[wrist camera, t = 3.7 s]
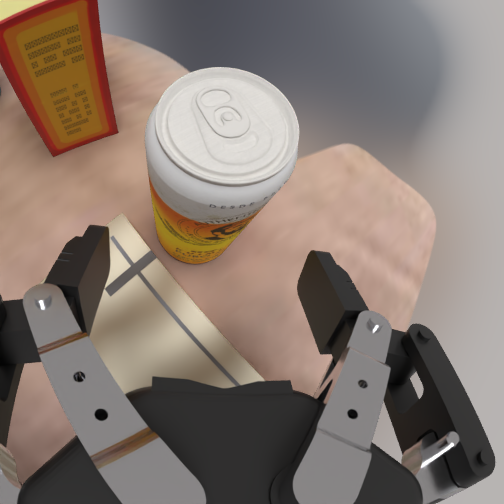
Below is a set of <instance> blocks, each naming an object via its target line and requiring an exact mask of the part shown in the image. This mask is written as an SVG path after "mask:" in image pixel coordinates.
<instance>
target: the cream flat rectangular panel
mask: <svg viewBox="0 0 504 504" xmlns="http://www.w3.org/2000/svg"><path fill="white" fill-rule="evenodd" d="M106 226H107V227H108V228H109V238H110V272H109V276H108V279H107V282H106V285H105V288H104V291H103V294H102V297H101V300H100V303H99V306H98V309H97V313H96V316H95V319H94V322H93V326H92V329H91V333H90V336H89V338H90V340H91V341H92V343H93V345H94V347H95V348H96V350H97V352H98V353H99V355H100V357H101V358H102V360H103V362H104V363H105V365H106V367H107V368H108V370H109V371H110V373H111V375H112V376H113V378H114V379H115V381H116V382H117V384H118V385H119V387H120V388H121V390H122V391H123V393H124V394H126V393H128V392H130V391H133V390H135V389H139V388H143V387H148V386H152V376H156V377H167V378H180V379H189V380H193V381H196V382H200V383H204V384H208V385H212V386H216V387H220V388H230V387H235V386H239V385H244V384H248V383H253V382H257V381H265V380H264V379H263V378H262V377H261V376H260V375H259V374H258V373H257V372H256V371H255V370H254V369H253V367H252V366H251V365H250V364H249V363H248V362H247V361H246V360H245V359H244V358H243V357H242V356H241V355H240V354H239V353H238V352H237V350H236V349H235V348H234V347H233V346H232V345H231V344H230V343H229V342H228V341H227V340H226V338H225V337H224V336H223V335H222V334H221V333H220V332H219V331H218V330H217V328H216V327H215V326H214V325H213V324H212V323H211V322H210V321H209V319H208V318H207V317H206V316H205V315H204V314H203V313H202V311H201V310H200V309H199V308H198V307H197V306H196V304H195V303H194V302H193V301H192V300H191V299H190V297H189V296H188V295H187V294H186V293H185V292H184V290H183V289H182V288H181V287H180V286H179V284H178V283H177V282H176V281H175V279H174V278H173V277H172V276H171V275H170V273H169V272H168V271H167V270H166V268H165V267H164V266H163V265H162V264H161V262H160V261H159V260H158V259H157V257H156V256H155V255H154V253H153V252H152V251H151V250H150V248H149V247H148V246H147V245H146V243H145V242H144V241H143V239H142V238H141V237H140V236H139V234H138V233H137V232H136V230H135V229H134V228H133V226H132V225H131V224H130V222H129V221H128V220H127V218H126V217H125V216H124V214H123V213H121V214H120V215H118V216H117V217H116V218H114V219H113V220H112V221H111V222H109V223H108V224H107V225H106ZM46 278H47V277H46ZM46 278H45V279H44V280H43V281H42V282H40V283H39V284H43V283H44V281H45V280H46ZM39 284H38V285H39Z"/></svg>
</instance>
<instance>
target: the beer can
mask: <svg viewBox="0 0 504 504" xmlns="http://www.w3.org/2000/svg"><path fill="white" fill-rule="evenodd" d="M298 140H299V125H298V121H297V117H296V114H295V112H294V109H293V108H292V106H291V104H290V103H289V101H288V100H287V98H286V97H285V96H284V95H283V94H282V93H281V92H280V91H279V90H278V89H277V88H276V87H275V86H273V85H272V84H271V83H269V82H267V81H266V80H265V79H263V78H261V77H259V76H257V75H255V74H252V73H250V72H246V71H243V70H239V69H234V68H225V67H224V68H223V67H216V68H215V67H214V68H206V69H201V70H197V71H194V72H191V73H189V74H186V75H185V76H183V77H181V78H179V79H178V80H176V81H175V82H174V83H173V84H171V85H170V86H169V87H168V88H167V90H166V91H165V92H164V94H163V95H162V97H161V98H160V100H159V102H158V103H157V105H156V106H155V107H154V109H153V111H152V112H151V114H150V116H149V119H148V121H147V125H146V130H145V148H146V157H147V166H148V175H149V182H150V190H151V197H152V204H153V211H154V218H155V224H156V230H157V235H158V238H159V241H160V243H161V245H162V246H163V248H164V249H165V250H166V251H167V252H168V253H169V254H170V255H171V256H173V257H174V258H176V259H178V260H180V261H182V262H186V263H192V264H198V263H205V262H208V261H211V260H213V259H215V258H216V257H218V256H219V255H221V254H222V253H223V252H224V251H225V249H226V248H227V247H228V246H229V245H230V244H231V243H232V242H233V240H234V239H235V238H236V237H237V236H238V235H239V234H240V233H241V231H242V230H243V229H244V228H245V227H246V226H247V225H248V224H249V223H250V221H251V220H252V219H253V218H254V217H255V216H256V215H257V214H258V213H259V211H260V210H261V209H262V208H263V207H264V206H265V205H266V204H267V203H268V202H269V200H270V199H271V198H272V197H273V196H274V195H275V194H276V193H277V192H278V191H279V189H280V188H281V187H282V186H283V185H284V184H285V183H286V181H287V180H288V179H289V177H290V175H291V174H292V172H293V170H294V167H295V164H296V160H297V154H298Z"/></svg>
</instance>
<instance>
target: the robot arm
mask: <svg viewBox="0 0 504 504" xmlns="http://www.w3.org/2000/svg"><path fill="white" fill-rule="evenodd" d="M109 272H110V238H109V228H108V227H107V226H97V225H89V226H88V228H87V230H86V231H85V233H84V235H83V237H78V236H76V237H74V238H73V239H72V240H70V241H69V242H68V243H67V244H66V245H65V247H64V248H63V250H62V253H60V255H59V257H58V260H56V262H55V264H54V265H53V267H52V269H51V271H50V272H49V274H48V276H47V278H46V280H45V281H44V283H43V284H39V285H36V286H34V287H32V288H31V289H29V290H28V291H27V292H26V294H25V295H24V298H23V299H20V300H10V301H3V300H2V297H1V295H0V504H436V503H438V502H440V501H442V500H444V499H446V498H449V497H451V496H453V495H455V494H457V493H459V492H461V491H463V490H464V489H466V488H468V487H470V486H472V485H474V484H476V483H477V482H479V481H481V480H483V479H484V478H486V477H488V476H489V475H490V474H491V473H492V472H493V470H494V467H495V456H494V453H493V450H492V448H491V445H490V443H489V440H488V438H487V436H486V433H485V431H484V429H483V427H482V424H481V422H480V420H479V418H478V416H477V414H476V411H475V410H474V407H473V405H472V403H471V401H470V399H469V397H468V395H467V393H466V391H465V389H464V387H463V385H462V383H461V381H460V379H459V378H458V376H457V374H456V372H455V370H454V368H453V366H452V365H451V363H450V361H449V359H448V357H447V356H446V354H445V352H444V350H443V349H442V347H441V345H440V343H439V342H438V340H437V338H436V336H435V335H434V334H433V332H432V331H431V330H430V329H428V328H427V327H425V326H423V325H421V324H412V325H411V326H410V327H409V329H408V330H407V331H406V332H402V331H398V330H394V329H392V328H391V325H390V323H389V322H388V320H387V319H386V318H385V317H383V316H382V315H380V314H379V313H376V312H374V311H369V309H368V307H367V306H366V304H365V302H364V300H363V299H362V297H361V295H360V294H359V292H358V290H356V287H355V285H354V283H352V280H351V278H350V277H349V275H348V273H347V272H346V271H345V270H343V269H342V268H341V267H340V266H339V265H337V264H336V263H335V261H334V259H333V257H332V256H331V254H330V253H329V252H322V251H314V250H312V251H310V252H309V254H308V257H307V259H306V262H305V264H304V267H303V270H302V272H301V275H300V278H299V280H298V285H297V291H298V296H299V298H300V301H301V304H302V306H303V309H304V312H305V314H306V317H307V320H308V322H309V325H310V328H311V330H312V333H313V336H314V339H315V341H316V344H317V347H318V350H319V352H320V354H332V356H333V358H332V360H331V361H330V363H329V365H328V367H327V369H326V371H325V373H324V376H323V378H322V380H321V382H320V384H319V386H318V388H317V390H316V392H315V394H314V396H313V397H312V396H310V395H307V394H305V393H302V392H299V391H295V390H293V389H292V385H291V381H290V380H287V381H257V382H253V383H248V384H244V385H239V386H235V387H230V388H220V387H216V386H212V385H208V384H204V383H200V382H196V381H193V380H189V379H180V378H167V377H156V376H152V386H148V387H143V388H139V389H135V390H133V391H130V392H128V393H126V394H124V393H123V391H122V390H121V388H120V387H119V385H118V384H117V382H116V381H115V379H114V378H113V376H112V375H111V373H110V371H109V370H108V368H107V367H106V365H105V363H104V362H103V360H102V358H101V357H100V355H99V353H98V352H97V350H96V348H95V347H94V345H93V343H92V341H91V340H90V338H89V336H90V333H91V329H92V326H93V322H94V319H95V316H96V313H97V309H98V306H99V303H100V300H101V297H102V294H103V291H104V288H105V285H106V282H107V279H108V276H109ZM34 362H42V363H43V366H44V368H45V371H46V373H47V375H48V378H49V380H50V382H51V385H52V387H53V389H54V391H55V393H56V395H57V398H58V400H59V402H60V404H61V406H62V408H63V410H64V412H65V414H66V416H67V418H68V419H69V421H70V423H71V425H72V427H73V429H74V431H75V432H76V434H77V435H76V436H75V437H74V438H73V439H72V440H71V441H70V442H69V443H67V444H66V445H65V446H64V447H63V448H62V449H61V450H60V451H59V452H57V453H56V454H55V455H54V456H53V457H52V458H51V459H50V460H48V461H47V462H46V463H45V464H44V465H43V466H42V467H41V468H40V469H38V470H37V471H36V472H35V473H34V474H33V475H32V476H30V477H29V478H28V479H27V480H26V481H25V483H24V484H23V485H22V486H21V484H20V483H19V480H18V478H17V471H16V463H15V460H14V457H13V455H12V454H11V452H10V451H9V450H8V449H7V448H6V445H7V438H8V432H9V426H10V421H11V416H12V411H13V406H14V402H15V397H16V393H17V389H18V385H19V381H20V377H21V373H22V370H23V366H24V363H34ZM416 371H417V374H418V376H419V378H420V380H421V382H422V384H423V388H424V391H423V395H422V397H421V398H420V399H419V398H418V396H417V394H416V391H415V389H414V387H413V385H412V382H411V380H410V377H411V376H412V375H413V374H414V373H415V372H416ZM383 400H384V403H385V405H386V408H387V411H388V414H389V417H390V419H391V422H392V425H393V427H394V431H395V434H396V436H397V439H398V442H399V445H400V448H401V451H402V454H403V456H402V464H400V463H399V462H398V461H396V460H395V459H394V458H392V457H391V456H389V455H388V454H387V453H385V452H384V451H383V450H381V449H380V448H379V447H377V446H376V445H375V444H373V443H372V439H373V436H374V432H375V429H376V425H377V422H378V419H379V415H380V411H381V407H382V404H383Z"/></svg>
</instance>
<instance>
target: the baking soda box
mask: <svg viewBox="0 0 504 504" xmlns="http://www.w3.org/2000/svg"><path fill="white" fill-rule="evenodd" d="M0 63H1V65H2V67H3V70H4V72H5V74H6V76H7V78H8V79H9V81H10V83H11V85H12V87H13V89H14V91H15V93H16V95H17V97H18V98H19V100H20V102H21V104H22V106H23V107H24V109H25V111H26V113H27V115H28V116H29V118H30V120H31V121H32V123H33V125H34V126H35V128H36V130H37V131H38V133H39V135H40V136H41V138H42V140H43V141H44V143H45V145H46V146H47V148H48V149H49V151H50V152H51V154H52V156H53V157H54V156H57V155H59V154H62V153H64V152H66V151H69V150H72V149H74V148H77V147H79V146H82V145H85V144H87V143H90V142H93V141H96V140H99V139H102V138H104V137H107V136H110V135H113V134H116V133H118V129H117V125H116V120H115V115H114V110H113V105H112V100H111V95H110V89H109V84H108V78H107V72H106V66H105V60H104V53H103V46H102V38H101V30H100V21H99V12H98V2H97V0H0Z"/></svg>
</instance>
